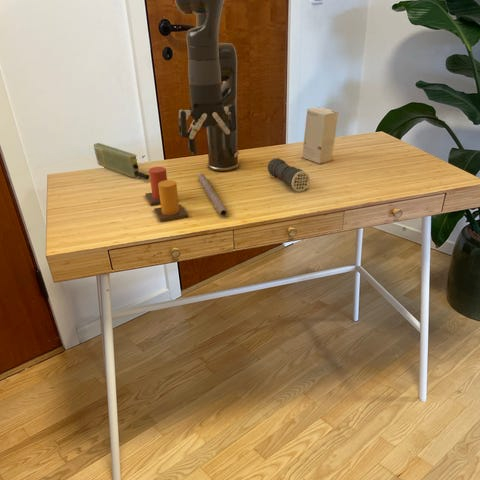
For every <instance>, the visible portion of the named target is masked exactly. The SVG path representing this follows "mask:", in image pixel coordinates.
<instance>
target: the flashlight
mask: <svg viewBox="0 0 480 480" xmlns="http://www.w3.org/2000/svg"><path fill="white" fill-rule="evenodd" d="M267 171H268V174H269V175H270V176H272V177H274V178H276V179H279V180H282V181H283V183H284V184H286V185H287V186H288V187H289V188H290V189H292V190H293V191H295V192H298V193H299V192H303V191H305V190H306V189H307V188H308V187H309V184H310V175H309V174H308V172H307V171H304V170H303V169H300V168H297V167H295V166H290V165H289V164H288V163H286V161H285V160H283V159H281V158H280V157H277V158H272V159H271V160H270V161H268V164H267Z"/></svg>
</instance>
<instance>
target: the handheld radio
mask: <svg viewBox="0 0 480 480" xmlns="http://www.w3.org/2000/svg"><path fill="white" fill-rule="evenodd" d="M93 149H94V154H95V158H96V162H97V165H98V166H100V167H103V168H106V169H109V170H110V171H111V170H112V171H114V172H117V173H119V174H122V175H124V176H128V177H130V178H132V179H133V178H134V179H141V178H142V179H144V180H150V176H149V174H146V173H144V172H140V170H139V165H138V159H137V156H138V155H137V154H135V153H132V152H129V151H126V150H123V149H119V148H116V147H112V146H110V145H106V144H103V143H100V142H96V143H94V144H93Z"/></svg>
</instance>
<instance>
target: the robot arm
mask: <svg viewBox="0 0 480 480" xmlns="http://www.w3.org/2000/svg"><path fill="white" fill-rule="evenodd" d="M225 1H226V0H174V2H175V5H176V7H177V9H178V11H179V12H180V13H182V14H183V15H195V16H196V26H195V27H192V28H189V29H188V30H187V32H186V46H187V47H186V48H187V58H188V59H187V61H188V64H187V72H188V75H187V76H188V86H189V97H190V108H189V109H182V108H179V109H178V111H177V112H178V115H177V116H178V133H179V135H180V136H181V137H182V138H186V139H187V148H188V151H189V152H190V153H191V154H192V155H197V148H196V138H195V136H196V135H197V133H198V132H199V131H200V129H201V128H204V129H206V142H207V143H206V144H207V145H206V146H207V161H208V164H207V165H208V166H207V167H208V169H210V170H211V171H215V172H229V171H233V170H235V169H237V168H239V155H240V151H239V147H238V146H239V145H238V143H239V142H238V109H237V108H238V106H237V105H238V104H237V99H238V98H237V97H238V94H237V93H238V92H237V91H238V89H237V87H238V85H237V83H238V55H237V49H236V48H235V46H234V44H233V43H230V42H222V43H221V42H219V31H220V22H221V16H222V11H223V6H224V3H225ZM189 117H191V118H192V119H193V120H192V122H191V123H190V126H189V128H188V130H187V121H188V120H189Z"/></svg>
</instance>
